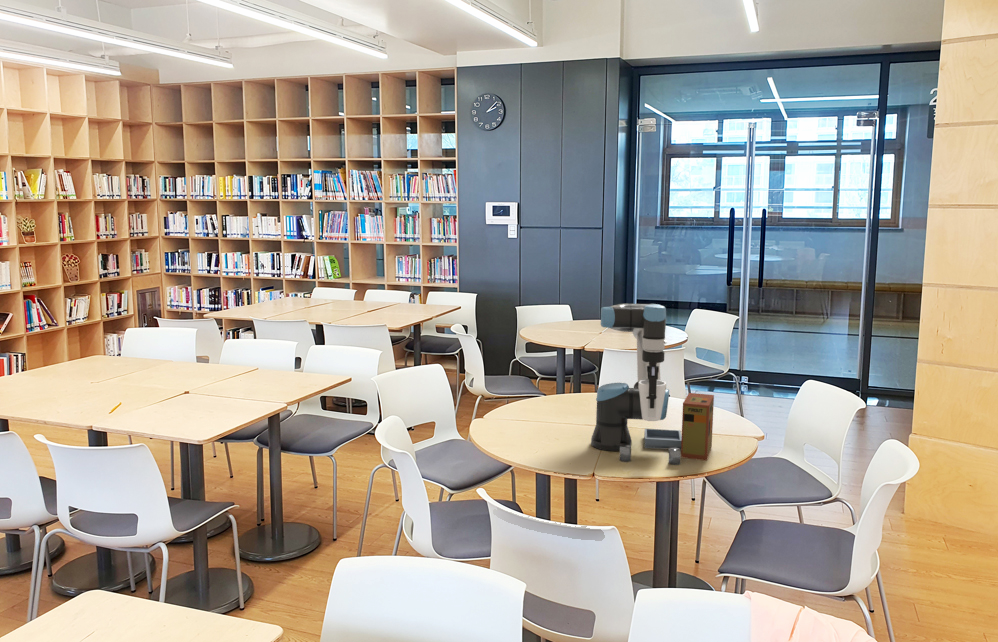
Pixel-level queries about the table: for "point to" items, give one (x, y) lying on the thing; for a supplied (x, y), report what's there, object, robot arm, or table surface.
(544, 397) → the table surface
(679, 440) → the tray
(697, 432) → the box
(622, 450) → the metal cylinder
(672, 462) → the shiny gray cylinder
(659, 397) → the foam cup
